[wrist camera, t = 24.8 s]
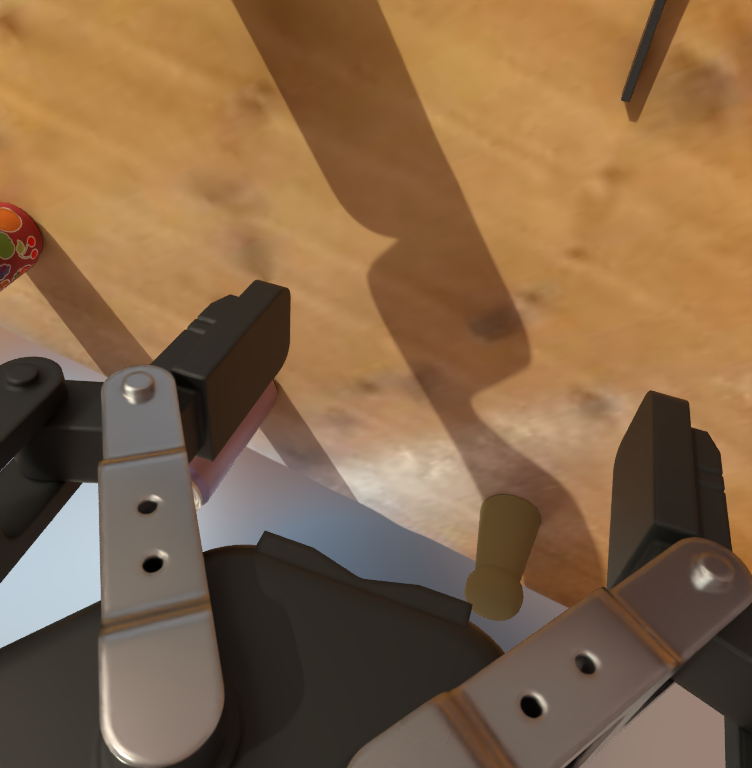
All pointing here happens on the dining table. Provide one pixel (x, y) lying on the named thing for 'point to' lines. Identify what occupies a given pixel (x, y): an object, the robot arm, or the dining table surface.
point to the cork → (501, 556)
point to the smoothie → (17, 243)
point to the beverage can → (229, 450)
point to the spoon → (642, 49)
